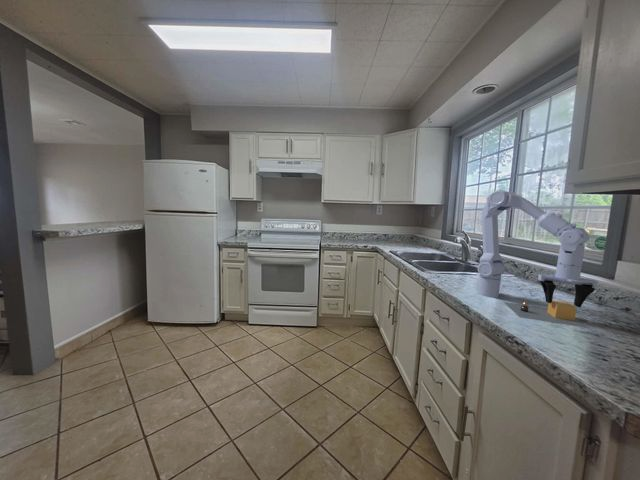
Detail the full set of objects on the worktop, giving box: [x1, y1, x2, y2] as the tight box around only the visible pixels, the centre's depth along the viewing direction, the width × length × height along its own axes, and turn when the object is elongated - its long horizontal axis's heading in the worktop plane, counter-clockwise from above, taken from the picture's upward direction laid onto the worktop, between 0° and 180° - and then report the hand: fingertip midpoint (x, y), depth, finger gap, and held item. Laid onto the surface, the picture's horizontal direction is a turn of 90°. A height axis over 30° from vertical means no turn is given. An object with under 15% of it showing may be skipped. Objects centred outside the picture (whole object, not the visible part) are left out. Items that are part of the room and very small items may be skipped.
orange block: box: [547, 299, 578, 321], centre depth 82 cm, size 5×5×4 cm
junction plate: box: [503, 301, 591, 329], centre depth 84 cm, size 15×18×1 cm
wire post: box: [521, 301, 529, 312], centre depth 85 cm, size 2×2×3 cm
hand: (562, 304), depth 82 cm, fingers open, 7 cm apart
